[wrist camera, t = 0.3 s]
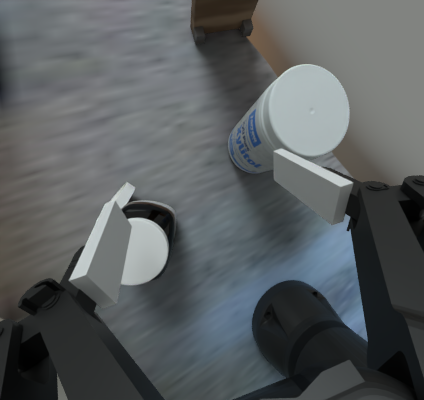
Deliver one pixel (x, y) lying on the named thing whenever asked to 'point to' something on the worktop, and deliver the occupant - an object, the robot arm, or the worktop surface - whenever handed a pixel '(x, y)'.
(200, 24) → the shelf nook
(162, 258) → the spread jar
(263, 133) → the supplement tub
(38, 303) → the robot arm
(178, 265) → the worktop surface
